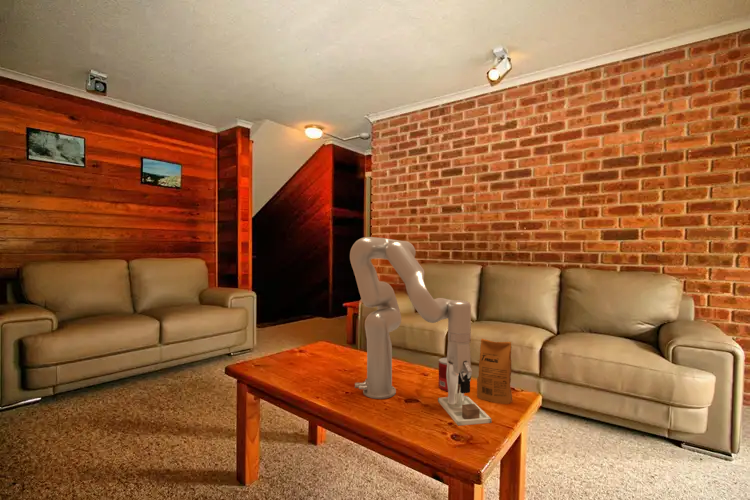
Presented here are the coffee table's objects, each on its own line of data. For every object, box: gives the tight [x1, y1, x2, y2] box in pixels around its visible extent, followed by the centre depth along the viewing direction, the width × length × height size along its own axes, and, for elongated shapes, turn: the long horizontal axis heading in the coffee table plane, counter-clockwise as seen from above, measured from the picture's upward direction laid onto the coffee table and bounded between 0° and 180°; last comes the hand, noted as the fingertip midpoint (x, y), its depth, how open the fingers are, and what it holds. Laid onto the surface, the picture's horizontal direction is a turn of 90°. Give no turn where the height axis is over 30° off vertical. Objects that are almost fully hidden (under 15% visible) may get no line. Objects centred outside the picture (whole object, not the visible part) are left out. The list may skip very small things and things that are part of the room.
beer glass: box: [446, 360, 466, 409], centre depth 125 cm, size 7×7×15 cm
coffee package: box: [476, 338, 513, 405], centre depth 132 cm, size 10×12×22 cm
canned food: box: [438, 357, 448, 392], centre depth 144 cm, size 8×8×11 cm
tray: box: [437, 395, 492, 426], centre depth 121 cm, size 11×18×2 cm, turn 10°
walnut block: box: [462, 403, 480, 419], centre depth 115 cm, size 4×4×4 cm
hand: (459, 387), depth 124 cm, fingers open, 9 cm apart
